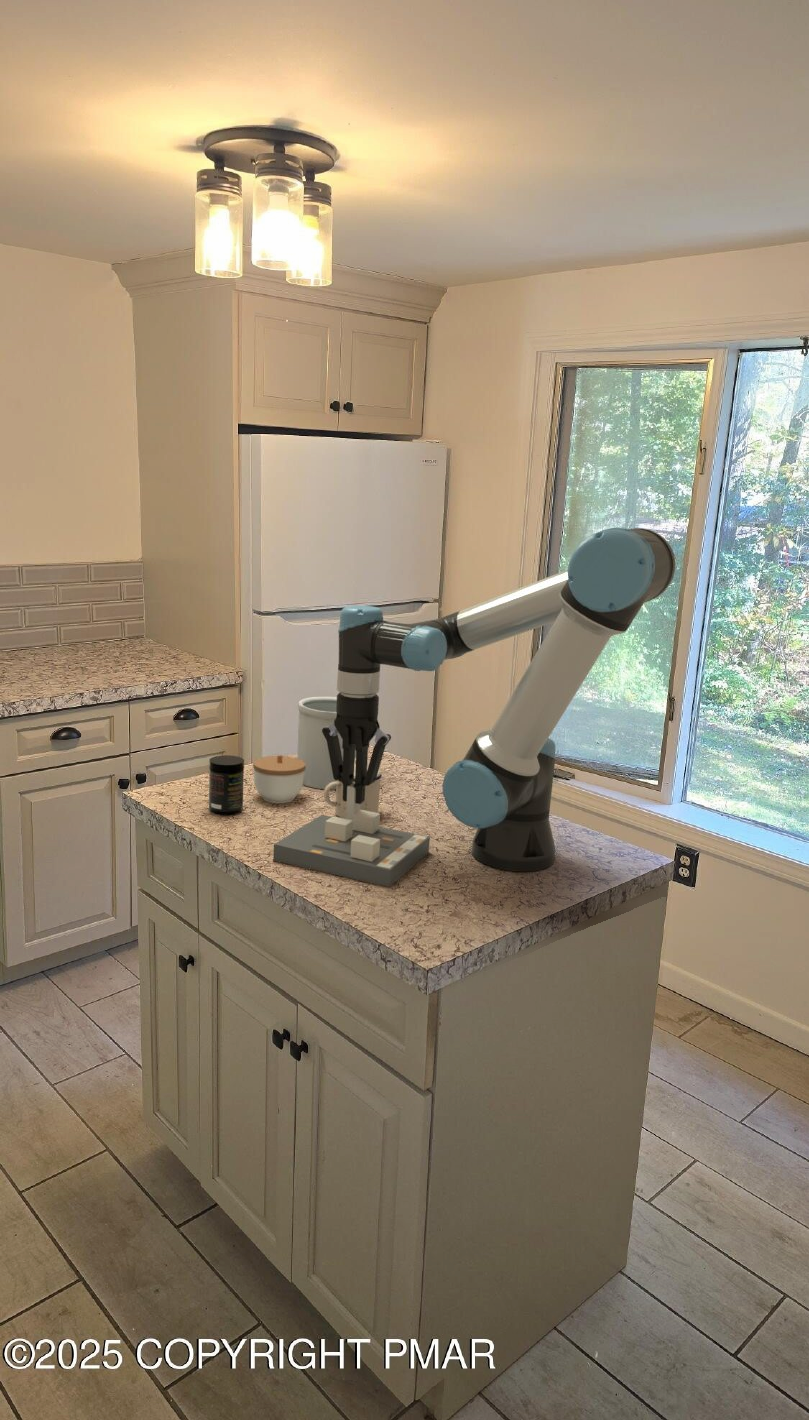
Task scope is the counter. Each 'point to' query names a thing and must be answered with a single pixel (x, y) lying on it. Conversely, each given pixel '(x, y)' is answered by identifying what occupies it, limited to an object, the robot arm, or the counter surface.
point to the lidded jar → (279, 778)
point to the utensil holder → (316, 740)
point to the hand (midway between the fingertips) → (352, 818)
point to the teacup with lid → (368, 805)
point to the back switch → (366, 821)
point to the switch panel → (334, 855)
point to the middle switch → (338, 828)
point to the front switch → (365, 848)
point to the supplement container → (226, 784)
